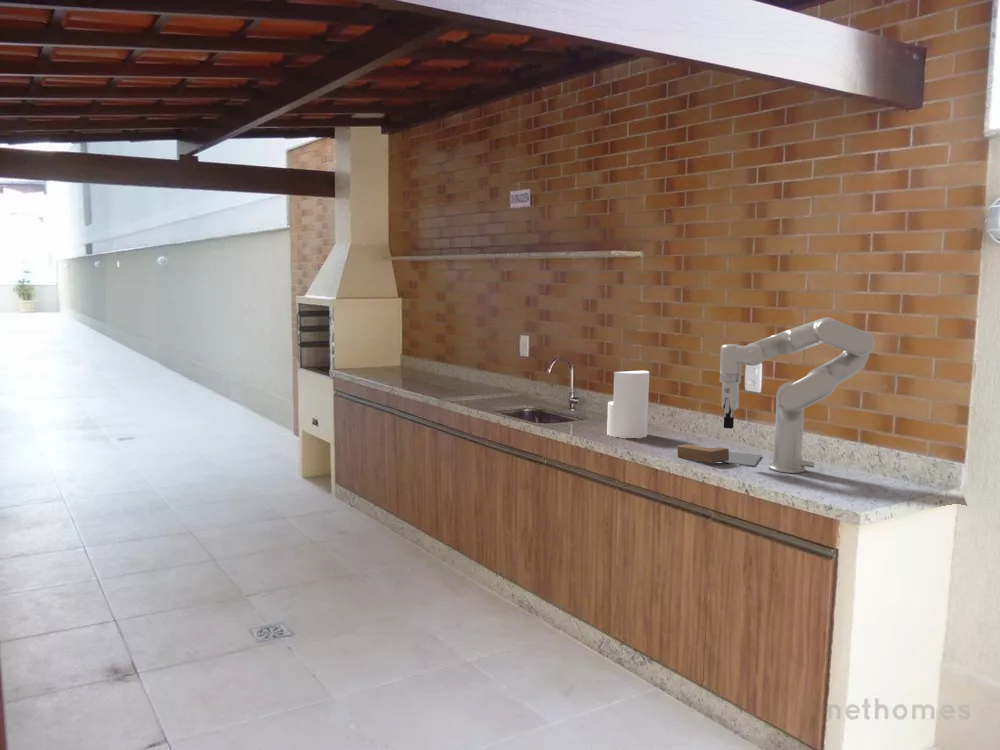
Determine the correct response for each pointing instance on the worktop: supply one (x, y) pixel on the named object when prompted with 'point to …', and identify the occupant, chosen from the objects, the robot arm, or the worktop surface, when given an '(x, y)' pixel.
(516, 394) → the worktop surface
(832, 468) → the worktop surface
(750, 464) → the mat
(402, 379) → the worktop surface
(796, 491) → the worktop surface
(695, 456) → the wooden block
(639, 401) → the stepped white pillar
